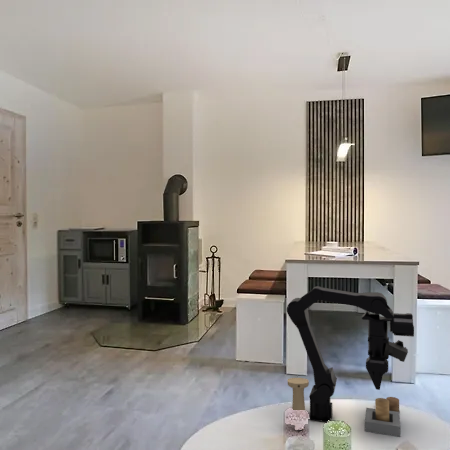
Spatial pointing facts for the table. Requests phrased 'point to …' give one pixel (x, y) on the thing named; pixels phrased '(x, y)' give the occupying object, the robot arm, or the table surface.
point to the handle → (298, 392)
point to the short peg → (393, 404)
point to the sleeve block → (382, 423)
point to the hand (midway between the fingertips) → (378, 383)
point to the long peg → (382, 409)
